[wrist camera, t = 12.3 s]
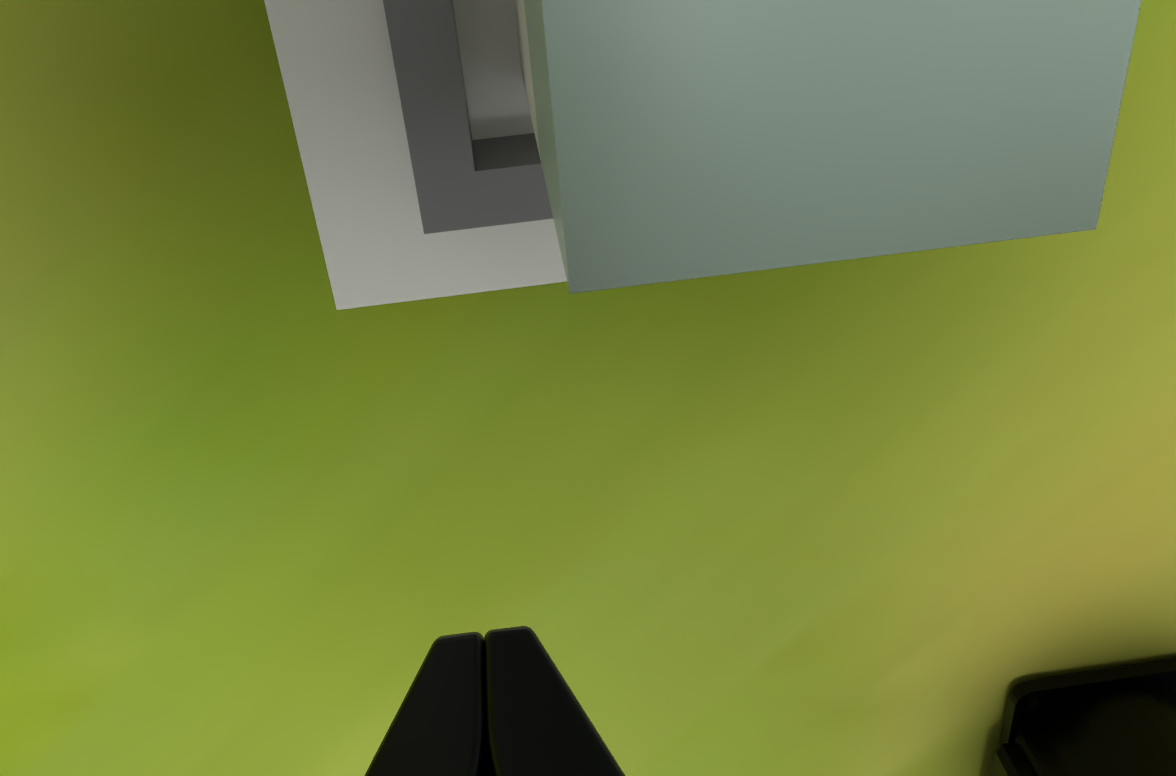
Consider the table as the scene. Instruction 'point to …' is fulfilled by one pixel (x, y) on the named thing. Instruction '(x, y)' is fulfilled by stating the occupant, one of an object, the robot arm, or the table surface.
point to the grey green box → (815, 127)
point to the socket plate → (416, 146)
